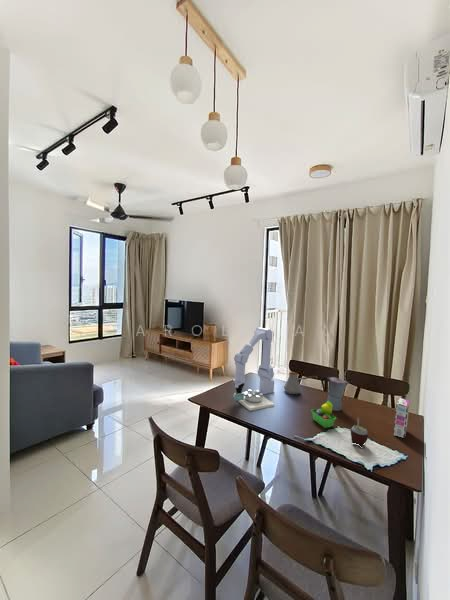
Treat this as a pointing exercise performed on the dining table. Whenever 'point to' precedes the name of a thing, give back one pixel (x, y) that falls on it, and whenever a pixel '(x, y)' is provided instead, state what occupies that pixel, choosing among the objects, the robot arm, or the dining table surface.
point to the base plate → (256, 404)
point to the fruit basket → (324, 415)
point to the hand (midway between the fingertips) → (238, 395)
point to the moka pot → (335, 391)
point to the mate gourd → (359, 434)
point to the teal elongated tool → (249, 396)
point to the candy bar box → (401, 417)
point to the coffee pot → (294, 383)
